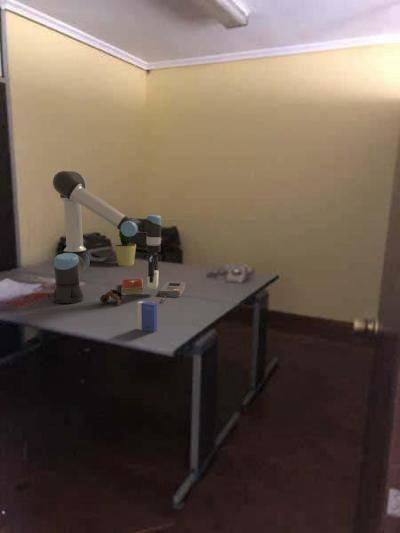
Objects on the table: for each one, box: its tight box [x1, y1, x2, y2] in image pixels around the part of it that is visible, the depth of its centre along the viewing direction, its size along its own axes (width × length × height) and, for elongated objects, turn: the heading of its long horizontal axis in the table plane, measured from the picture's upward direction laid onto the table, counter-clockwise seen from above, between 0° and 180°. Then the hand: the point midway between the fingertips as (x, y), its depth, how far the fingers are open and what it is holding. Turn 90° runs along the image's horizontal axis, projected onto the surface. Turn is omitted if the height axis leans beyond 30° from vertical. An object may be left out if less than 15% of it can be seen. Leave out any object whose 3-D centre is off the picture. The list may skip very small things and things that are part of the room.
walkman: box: [136, 300, 158, 333], centre depth 162 cm, size 8×3×12 cm, turn 68°
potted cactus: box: [114, 230, 137, 267], centre depth 286 cm, size 15×15×30 cm
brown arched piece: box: [99, 289, 124, 306], centre depth 195 cm, size 12×10×8 cm
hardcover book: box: [120, 278, 144, 296], centre depth 223 cm, size 12×21×4 cm, turn 9°
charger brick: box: [146, 269, 160, 290], centre depth 212 cm, size 5×5×9 cm
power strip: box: [159, 281, 186, 304], centre depth 214 cm, size 32×11×4 cm, turn 174°
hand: (152, 286), depth 213 cm, fingers closed on charger brick, 5 cm apart
